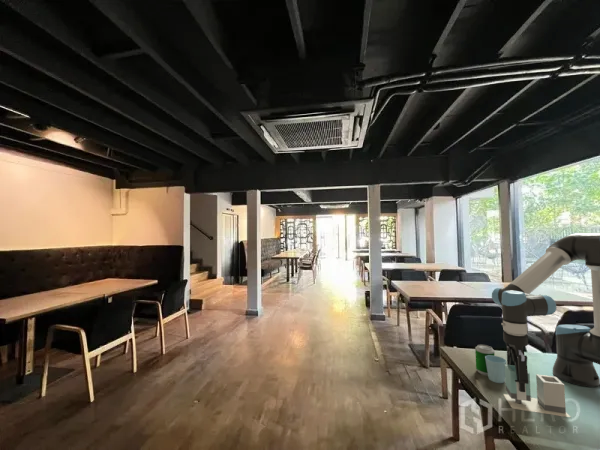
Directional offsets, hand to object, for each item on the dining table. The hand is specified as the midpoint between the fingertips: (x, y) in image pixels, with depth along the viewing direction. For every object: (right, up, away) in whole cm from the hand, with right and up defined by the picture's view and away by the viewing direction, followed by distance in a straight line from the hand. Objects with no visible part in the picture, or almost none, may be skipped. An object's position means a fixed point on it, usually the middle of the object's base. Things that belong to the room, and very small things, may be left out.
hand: (518, 394), depth 108 cm
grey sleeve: (+9, -3, -3) cm, 10 cm away
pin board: (+5, -4, -2) cm, 7 cm away
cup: (+3, -5, +17) cm, 18 cm away
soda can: (+4, -5, +26) cm, 27 cm away
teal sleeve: (0, 0, 0) cm, 0 cm away
